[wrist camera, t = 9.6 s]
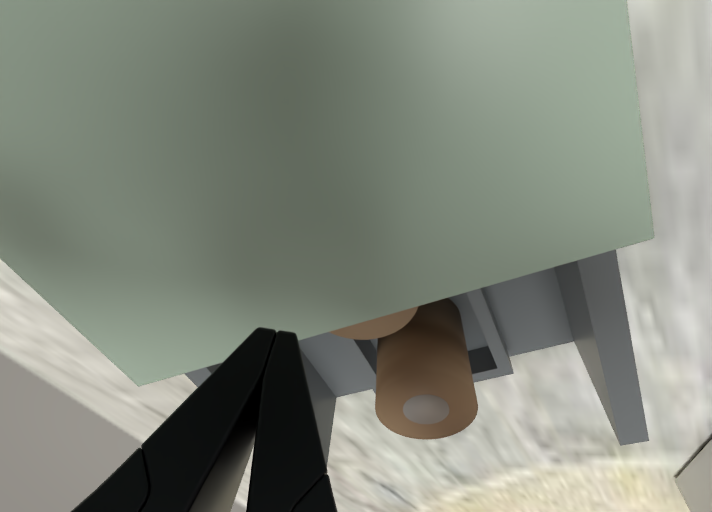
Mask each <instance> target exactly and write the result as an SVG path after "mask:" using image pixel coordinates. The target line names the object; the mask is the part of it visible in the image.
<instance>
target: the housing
mask: <svg viewBox="0 0 712 512" xmlns="http://www.w3.org/2000/svg"><path fill="white" fill-rule="evenodd" d="M448 298H449V299H450V300H451V301H453V302H454V304H455V305H456V306H457V308H458V309H459V312H460V315H461V320H462V325H463V330H464V336H465V341H466V346H467V351H468V357H469V362H470V367H471V372H472V377H473V383H474V382H478V381H483V380H487V379H491V378H496V377H500V376H505V375H509V374H514V373H513V369H512V365H511V361H510V358H509V357H510V356H514V355H518V354H522V353H527V352H531V351H535V350H539V349H544V348H548V347H552V346H556V345H561V344H565V343H569V342H573V341H574V342H575V344H576V346H577V349H578V351H579V353H580V355H581V358H582V360H583V362H584V365H585V367H586V369H587V371H588V374H589V376H590V378H591V380H592V383H593V385H594V387H595V389H596V392H597V394H598V396H599V398H600V401H601V403H602V405H603V407H604V410H605V412H606V414H607V416H608V419H609V421H610V423H611V426H612V428H613V430H614V432H615V435H616V437H617V439H618V441H619V444H620V445H626V444H633V443H639V442H645V441H649V438H648V432H647V427H646V421H645V415H644V409H643V404H642V398H641V392H640V387H639V381H638V375H637V369H636V364H635V358H634V352H633V347H632V341H631V335H630V329H629V324H628V318H627V312H626V307H625V301H624V295H623V290H622V284H621V278H620V272H619V267H618V261H617V255H616V250H612V251H608V252H605V253H601V254H598V255H594V256H591V257H587V258H584V259H580V260H577V261H573V262H570V263H566V264H563V265H559V266H556V267H552V268H549V269H545V270H542V271H539V272H535V273H532V274H528V275H525V276H521V277H518V278H514V279H511V280H507V281H504V282H500V283H497V284H493V285H490V286H486V287H483V288H479V289H476V290H472V291H469V292H466V293H462V294H459V295H455V296H452V297H448ZM417 309H418V306H417V307H413V308H410V309H406V310H403V311H399V312H396V313H392V314H389V315H386V316H382V317H379V318H375V319H372V320H368V321H365V322H361V323H358V324H354V325H351V326H347V327H344V328H340V329H337V330H333V331H330V332H326V333H323V334H319V335H316V336H313V337H309V338H306V339H302V340H299V341H298V342H299V347H300V351H301V356H302V360H303V364H304V369H305V373H306V378H307V382H308V387H309V391H310V396H311V400H312V405H313V409H314V413H315V418H316V422H317V427H318V431H319V436H320V440H321V445H322V449H323V453H324V458H325V462H326V467H327V461H328V454H329V447H330V439H331V432H332V425H333V418H334V411H335V403H336V397H340V396H344V395H348V394H353V393H357V392H361V391H365V390H370V389H373V391H374V392H375V394H376V373H377V343H378V338H381V337H384V336H387V335H390V334H392V333H395V332H396V331H398V330H400V329H401V328H403V327H404V326H405V325H406V324H407V323H408V322H409V321H410V320H411V319H412V318H413V316H414V315H415V313H416V311H417ZM222 363H223V362H222ZM222 363H219V364H215V365H212V366H208V367H205V368H201V369H198V370H194V371H191V372H187V373H184V374H185V375H186V376H187V377H188V378H189V379H190V380H191V381H192V382H193V383H194V384H195V385H196V386H197V387H199V386H200V385H201V384H202V383H203V382H204V381H205V380H206V379H207V378H208V377H209V376H210V375H211V374H212V373H213V372H214V371H215V370H216V369H217V368H218V367H219V366H220V365H221V364H222Z"/></svg>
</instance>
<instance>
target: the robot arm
mask: <svg viewBox="0 0 712 512" xmlns="http://www.w3.org/2000/svg"><path fill="white" fill-rule="evenodd" d="M253 446H254V451H253V459H252V467H251V476H250V484H249V493H248V501H247V509H246V512H337V508H336V504H335V500H334V497H333V492H332V488H331V484H330V479H329V476H328V475H327V467H326V462H325V458H324V453H323V449H322V445H321V440H320V436H319V431H318V427H317V422H316V418H315V413H314V409H313V405H312V400H311V396H310V391H309V387H308V382H307V378H306V373H305V369H304V364H303V360H302V356H301V351H300V347H299V342H298V338H297V335H296V333H294V332H289V331H282V330H279V331H278V332H276V330H274V329H270V328H263V327H258V328H256V329H255V330H254V331H253V332H252V333H251V334H250V335H249V336H248V337H247V338H246V339H245V340H244V341H243V342H242V343H241V344H240V345H239V346H238V347H237V348H236V349H235V350H234V351H233V352H232V353H231V354H230V355H229V356H228V357H227V358H226V360H225V361H224V362H223V363H222V364H221V365H220V366H219V367H218V368H217V369H216V370H215V371H214V372H213V373H212V374H211V375H210V376H209V377H208V378H207V379H206V380H205V381H204V382H203V383H202V384H201V385H200V386H199V387H198V388H197V389H196V390H195V391H194V392H193V393H192V394H191V395H190V396H189V397H188V398H187V399H186V400H185V401H184V402H183V403H182V404H181V405H180V406H179V407H178V408H177V409H176V410H175V411H174V412H173V413H172V414H171V415H170V416H169V417H168V418H167V419H166V420H165V421H164V422H163V424H162V425H161V426H160V427H159V428H158V429H157V430H156V431H155V432H154V433H153V434H152V435H151V436H150V437H149V438H148V439H147V440H146V441H145V442H144V443H143V444H142V446H141V447H142V449H141V448H138V449H137V450H136V451H135V452H134V453H133V454H132V455H131V456H130V457H129V458H128V459H127V460H126V461H125V462H124V463H123V464H122V465H121V466H120V467H119V468H118V469H117V470H116V471H115V472H114V473H113V474H112V475H111V476H110V477H108V479H107V480H106V481H104V482H103V483H102V484H101V485H100V486H99V487H98V488H97V489H96V490H95V491H94V492H93V493H92V494H90V495H89V496H88V497H87V498H86V499H85V500H83V501H82V502H81V503H80V504H79V505H78V506H77V507H76V508H74V509H73V510H72V511H71V512H230V511H231V508H232V505H233V503H234V500H235V497H236V494H237V491H238V488H239V486H240V483H241V480H242V477H243V474H244V471H245V468H246V466H247V463H248V460H249V457H250V454H251V451H252V449H253Z"/></svg>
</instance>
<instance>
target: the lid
mask: <svg viewBox="0 0 712 512" xmlns="http://www.w3.org/2000/svg"><path fill="white" fill-rule="evenodd" d="M653 238H654V230H653V221H652V213H651V204H650V196H649V187H648V179H647V170H646V162H645V153H644V145H643V136H642V127H641V119H640V110H639V102H638V93H637V85H636V76H635V68H634V59H633V50H632V42H631V33H630V25H629V16H628V8H627V0H0V259H1V260H3V261H4V262H5V263H6V264H7V265H8V266H9V267H10V268H11V269H12V270H13V271H14V272H15V273H17V274H18V275H19V276H20V277H21V278H22V279H23V280H24V281H25V282H26V283H27V284H28V285H29V286H31V287H32V288H33V289H34V290H35V291H36V292H37V293H38V294H39V295H40V296H41V297H42V298H43V299H45V300H46V301H47V302H48V303H49V304H50V305H51V306H52V307H53V308H54V309H55V310H56V311H58V312H59V313H60V314H61V315H62V316H63V317H64V318H65V319H66V320H67V321H68V322H69V323H70V324H72V325H73V326H74V327H75V328H76V329H77V330H78V331H79V332H80V333H81V334H82V335H83V336H84V337H86V338H87V339H88V340H89V341H90V342H91V343H92V344H93V345H94V346H95V347H96V348H97V349H98V350H100V351H101V352H102V353H103V354H104V355H105V356H106V357H107V358H108V359H109V360H110V361H111V362H112V363H114V364H115V365H116V366H117V367H118V368H119V369H120V370H121V371H122V372H123V373H124V374H125V375H127V376H128V377H129V378H130V379H131V380H132V381H133V382H134V383H135V384H136V385H137V386H138V387H139V386H142V385H146V384H149V383H153V382H156V381H160V380H163V379H167V378H170V377H173V376H177V375H180V374H184V373H187V372H191V371H194V370H198V369H201V368H205V367H208V366H212V365H215V364H219V363H222V362H224V361H225V360H226V358H227V357H228V356H229V355H230V354H231V353H232V352H233V351H234V350H235V349H236V348H237V347H238V346H239V345H240V344H241V343H242V342H243V341H244V340H245V339H246V338H247V337H248V336H249V335H250V334H251V333H252V332H253V331H254V330H255V329H256V328H258V327H263V328H270V329H274V330H276V332H278V331H279V330H282V331H289V332H294V333H296V335H297V338H298V341H299V340H302V339H306V338H309V337H313V336H316V335H319V334H323V333H326V332H330V331H333V330H337V329H340V328H344V327H347V326H351V325H354V324H358V323H361V322H365V321H368V320H372V319H375V318H379V317H382V316H386V315H389V314H392V313H396V312H399V311H403V310H406V309H410V308H413V307H417V306H420V305H424V304H427V303H431V302H434V301H438V300H441V299H445V298H448V297H452V296H455V295H459V294H462V293H466V292H469V291H472V290H476V289H479V288H483V287H486V286H490V285H493V284H497V283H500V282H504V281H507V280H511V279H514V278H518V277H521V276H525V275H528V274H532V273H535V272H539V271H542V270H545V269H549V268H552V267H556V266H559V265H563V264H566V263H570V262H573V261H577V260H580V259H584V258H587V257H591V256H594V255H598V254H601V253H605V252H608V251H612V250H615V249H618V248H622V247H625V246H629V245H632V244H636V243H639V242H643V241H646V240H650V239H653Z"/></svg>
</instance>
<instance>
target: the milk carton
mask: <svg viewBox="0 0 712 512" xmlns="http://www.w3.org/2000/svg"><path fill="white" fill-rule="evenodd" d="M675 482H676V484H677V486H678V488H679V490H680V492H681V494H682V496H683V498H684V500H685V502H686V504H687V506H688V507H689V509H690V511H691V512H712V439H711V440H710V442H709V443H708V444H707V445H706V446H705V447H704V448H703V449H702V450H701V452H700V453H699V454H698V455H697V456H696V457H695V458H694V459H693V460H692V461H691V463H690V464H689V465H688V466H687V467H686V468H685V469H684V470H683V471H682V473H681V474H680V475H679V476H678V477H677V478H676V480H675Z"/></svg>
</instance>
